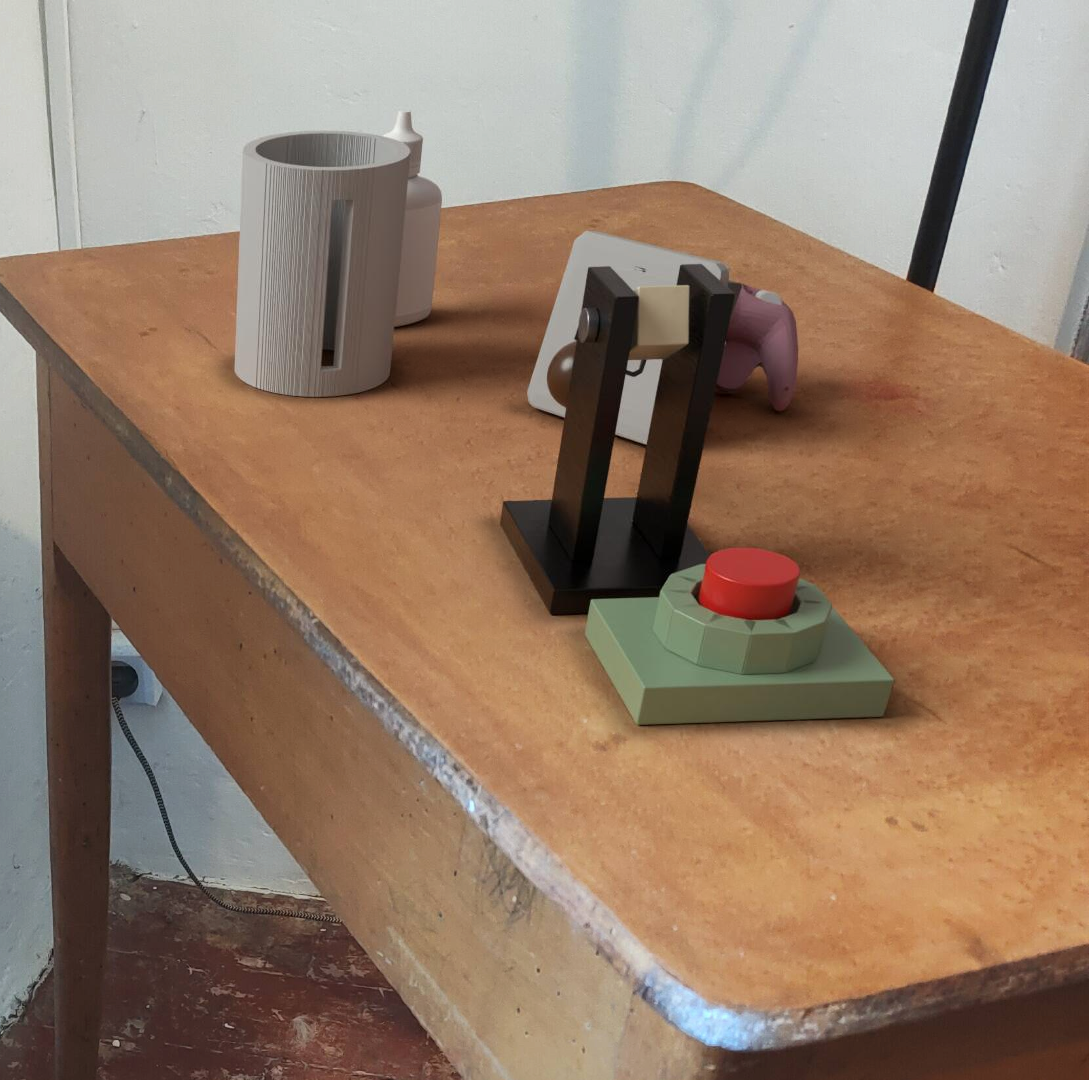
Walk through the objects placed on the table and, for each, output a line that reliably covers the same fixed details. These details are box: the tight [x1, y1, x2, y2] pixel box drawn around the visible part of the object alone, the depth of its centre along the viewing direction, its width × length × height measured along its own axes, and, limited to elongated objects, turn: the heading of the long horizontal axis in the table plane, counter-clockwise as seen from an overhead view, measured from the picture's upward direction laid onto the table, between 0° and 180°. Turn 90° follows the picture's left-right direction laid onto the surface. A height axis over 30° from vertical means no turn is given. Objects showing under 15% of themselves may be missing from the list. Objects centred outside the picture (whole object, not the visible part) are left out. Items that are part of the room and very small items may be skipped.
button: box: [699, 547, 801, 620], centre depth 70 cm, size 4×4×2 cm
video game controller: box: [715, 281, 799, 412], centre depth 98 cm, size 10×5×7 cm, turn 79°
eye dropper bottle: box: [382, 109, 443, 328], centre depth 107 cm, size 4×6×12 cm
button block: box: [584, 564, 895, 726], centre depth 72 cm, size 10×8×4 cm
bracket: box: [499, 264, 735, 615], centre depth 78 cm, size 10×8×13 cm
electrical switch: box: [526, 230, 743, 446], centre depth 94 cm, size 9×5×9 cm, turn 39°
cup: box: [234, 130, 411, 398], centre depth 99 cm, size 9×9×12 cm
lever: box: [547, 285, 690, 408], centre depth 80 cm, size 13×3×3 cm
